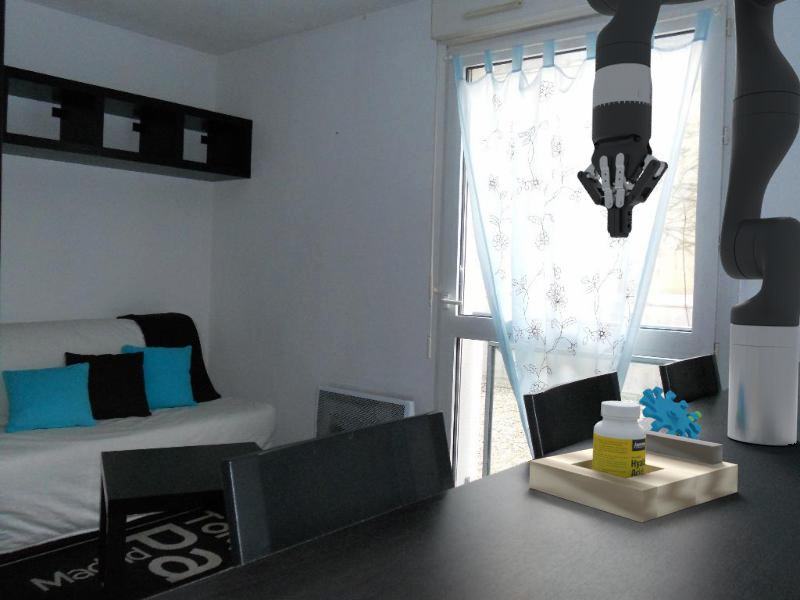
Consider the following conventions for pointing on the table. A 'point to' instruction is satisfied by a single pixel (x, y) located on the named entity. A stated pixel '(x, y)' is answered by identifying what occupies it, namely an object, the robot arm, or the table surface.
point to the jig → (641, 478)
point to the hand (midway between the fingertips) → (619, 237)
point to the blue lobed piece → (669, 414)
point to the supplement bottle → (619, 440)
